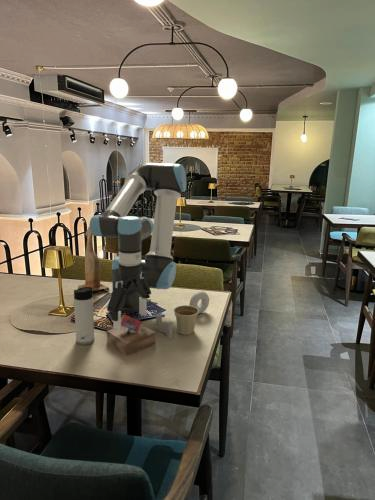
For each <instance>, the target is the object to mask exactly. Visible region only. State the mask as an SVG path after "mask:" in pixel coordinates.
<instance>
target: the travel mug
mask: <svg viewBox="0 0 375 500" xmlns="http://www.w3.org/2000/svg"><path fill="white" fill-rule="evenodd" d="M93 292H94V291H92V288H91V287H82V288H80V289H78V288H77V289H74V290H73V299H74V300H73V301H74V302H73V303H74V305H73V306H74V321H75V322H74V325H75V326H74V327H75V328H74V329H75V343H76V344H78V345H80V346H87V345H91V344H92V343H94V341H95V320H94V318H95V317H94V296H93Z"/></svg>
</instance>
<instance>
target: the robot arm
mask: <svg viewBox="0 0 375 500" xmlns="http://www.w3.org/2000/svg"><path fill="white" fill-rule="evenodd" d="M151 190H152V191H153V194H154V195H155V196H156V203H155V210H154V218H153V220H152V219H150V218H149V217H146V216H135V215H134V216H133V215H129V212H130V211H131V210H132V208H133V206H134V204H135V202H136V201H137V200H138V198H139V196H140V195H141V194H143V193H144V192H145V191H151ZM186 190H187V175H186V169H185V167H184V165H182V164H180V163H174V162H173V163H168V162H167V163H166V162H165V163H164V162H160V163H159V162H146V163H143V164H141V165H139V166H137V167H135V168H134V169H133V170H131V171H130V172H129V173H128V175H126V177H125V179H124V184H123V185H122V187H121V188H120V189H119V191H118V192H117V193H116V195H115V196H114V197H113V200H112V201H111V202H110V204H109V205H108V206H107V208H106V209H105V211H104V212H103V213H102V214H101V215H100V214H98V215H97V214H96V215H93V216H91V218H90V220H89V225H88V227H89V228H90V232H91V233H92V234H93V235H92V236H96V237H101V238H104V237H105V238H114V239H117V238H118V239H117V240H118V241H117V242H118V255H117V256H116V257H114V258H113V259H112V262H111V278H112V280H111V281H112V282H111V283H112V285H111V286H112V291H111V294H110V297H109V301H108V305H107V309H106V310H107V312H111V315H112V316H111V317H112V321H113V328H112V329H117V330H121V326H122V325H121V318H122V314H121V313H132V314H134V313H133V312H137V311H139V312H137V313H139V314H138V315H141V316H144V317H146V316H148V315H147V311H148V310H147V305H148V299H150V297H151V294H152V291H151V289H155V290H156V289H157V290H169V289H170V288H171V287H172V285H173V283H174V281H175V278H176V273H177V264H176V262H174V257H173V256H172V254H171V249H172V241H173V233H174V225H175V218H176V209H177V201H178V199H179V198H181V196H182V193H184V192H186ZM150 236H151V239H150V240H151V242H150V247H149V251H148V252H147V253H146V254H145V256H144V257H145V258H144V259H142V241H144V240H145V239H148V238H149V237H150Z"/></svg>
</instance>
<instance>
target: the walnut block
mask: <svg viewBox="0 0 375 500" xmlns="http://www.w3.org/2000/svg"><path fill="white" fill-rule="evenodd" d="M121 326H122V325H121ZM124 328H125V329H124ZM123 329H124V330H123ZM128 329H129V330H128ZM125 331H126V333H127V334H126V333H125ZM127 331H128V332H127ZM128 333H129V334H128ZM106 342H107V344H108V345H110V346H112V348H115V349H116V350H117V351H119V352H120V353H122V354H124V356H127V357H128V356H131V355H133V354H136V353H138V352H139V351H142V350H145V349H147V348H149V347H152V346H154V345H156V332H155V330H152V329H150V328H148V327H146V326H144V325H142V324H141V326H140V328H139V330H138V332H136V331H134V330H131V329H130V328H126V327H124V326H122V327H121V330H117V329H114V328H112V329H111V328H110V329H108V330H106Z"/></svg>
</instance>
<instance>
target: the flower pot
mask: <svg viewBox="0 0 375 500" xmlns="http://www.w3.org/2000/svg"><path fill="white" fill-rule="evenodd" d="M173 313H174V315H175V318H176V327H177V332H178V333H179V334H182V335H184V336H185V335H186V336H187V335H191V334H193V333H194V332H195V326H196V321H197V317H198V315H199V314H198V313H199V310H198V309H197V308H196V307H194V306H190V305H179V306H176V307H174V309H173Z"/></svg>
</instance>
